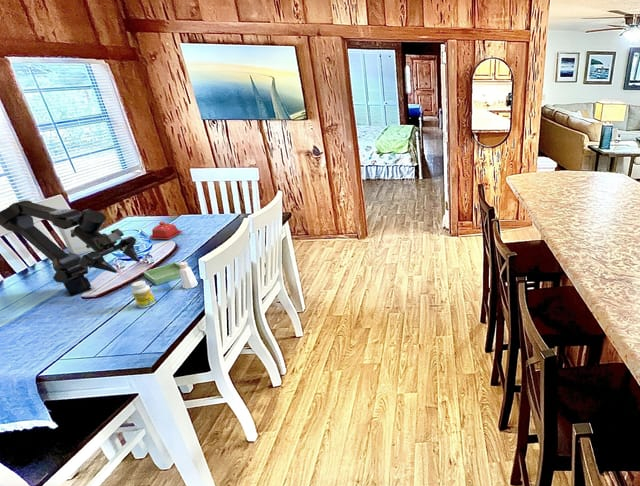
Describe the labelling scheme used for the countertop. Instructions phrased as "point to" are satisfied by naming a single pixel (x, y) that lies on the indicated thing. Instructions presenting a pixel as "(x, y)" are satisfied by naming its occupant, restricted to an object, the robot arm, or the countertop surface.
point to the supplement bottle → (142, 294)
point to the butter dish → (164, 231)
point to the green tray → (163, 273)
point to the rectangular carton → (74, 242)
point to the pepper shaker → (187, 276)
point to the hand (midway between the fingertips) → (128, 266)
